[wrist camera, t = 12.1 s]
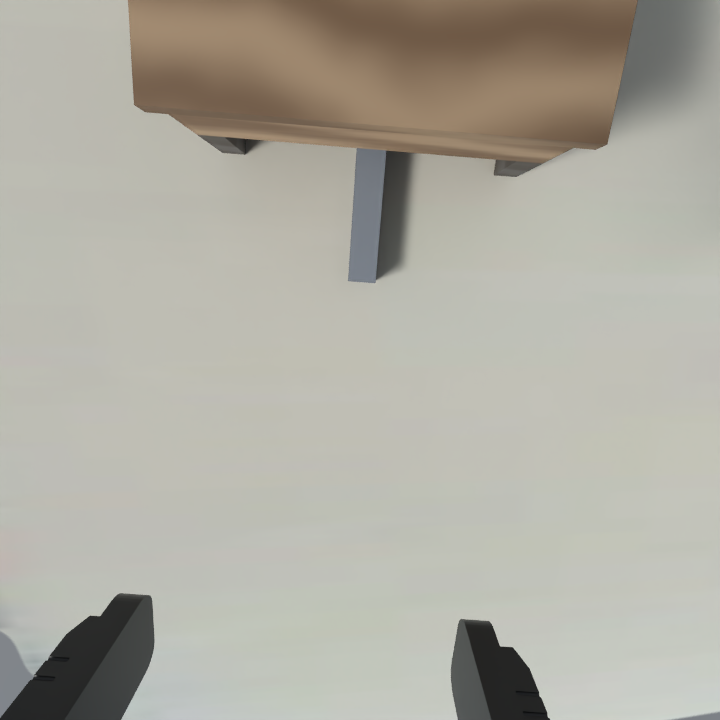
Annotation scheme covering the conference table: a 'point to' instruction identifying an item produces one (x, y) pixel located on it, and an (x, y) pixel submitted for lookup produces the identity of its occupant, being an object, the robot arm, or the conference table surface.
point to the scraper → (366, 214)
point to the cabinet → (387, 73)
